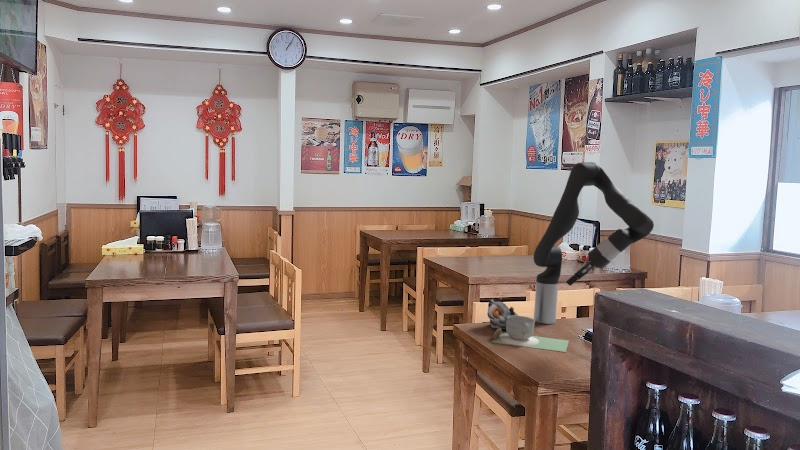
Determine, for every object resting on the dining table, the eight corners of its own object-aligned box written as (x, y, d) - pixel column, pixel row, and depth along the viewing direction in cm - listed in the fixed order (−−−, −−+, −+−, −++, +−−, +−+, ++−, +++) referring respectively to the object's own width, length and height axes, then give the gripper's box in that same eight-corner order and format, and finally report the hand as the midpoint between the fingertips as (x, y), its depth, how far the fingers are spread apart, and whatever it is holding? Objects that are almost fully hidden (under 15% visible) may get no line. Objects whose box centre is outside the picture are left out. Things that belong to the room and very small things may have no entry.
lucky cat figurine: (526, 332, 250) (519, 304, 244) (499, 343, 249) (491, 316, 243) (513, 313, 263) (505, 286, 257) (487, 323, 263) (478, 297, 257)
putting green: (499, 332, 248) (499, 325, 248) (568, 341, 240) (569, 334, 239) (491, 342, 233) (492, 335, 233) (565, 352, 225) (566, 345, 224)
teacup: (503, 333, 246) (505, 313, 245) (531, 335, 245) (532, 315, 244) (508, 343, 232) (509, 322, 231) (537, 345, 231) (538, 324, 230)
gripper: (598, 243, 232) (563, 273, 238) (595, 247, 220) (558, 278, 225) (612, 259, 231) (576, 288, 236) (610, 263, 219) (573, 294, 224)
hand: (568, 283), depth 231 cm, fingers closed
